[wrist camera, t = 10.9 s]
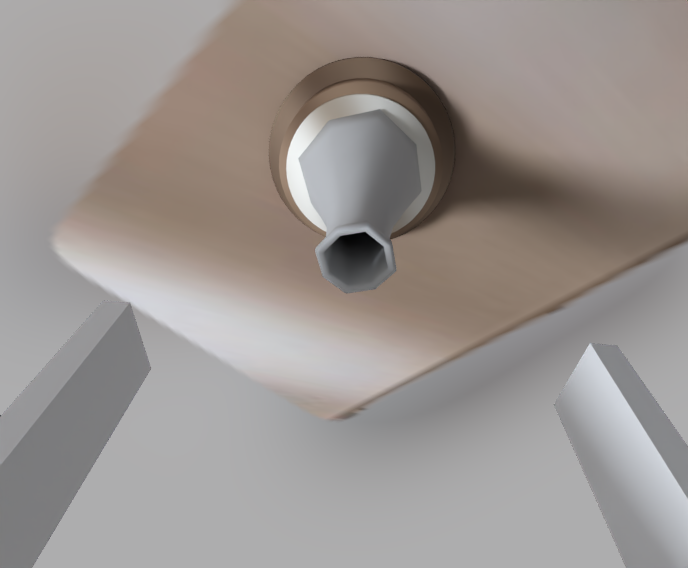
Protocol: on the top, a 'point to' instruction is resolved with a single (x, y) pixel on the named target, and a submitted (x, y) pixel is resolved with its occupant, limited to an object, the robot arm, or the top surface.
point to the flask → (360, 195)
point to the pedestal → (353, 98)
